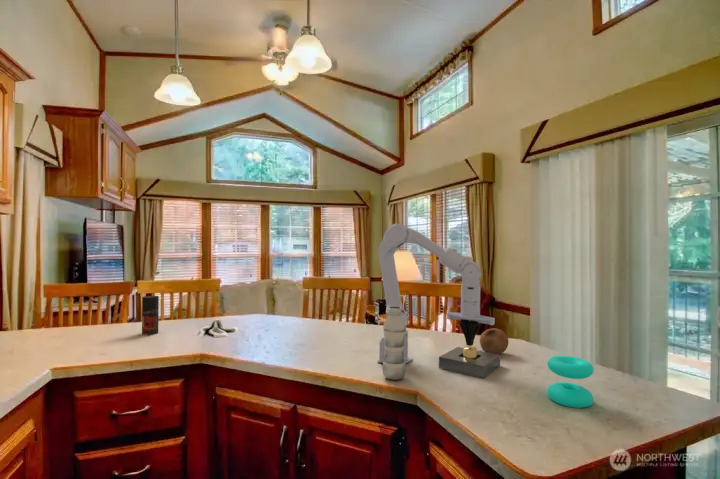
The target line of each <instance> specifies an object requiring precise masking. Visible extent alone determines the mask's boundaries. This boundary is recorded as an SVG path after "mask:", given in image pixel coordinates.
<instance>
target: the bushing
mask: <svg viewBox="0 0 720 479" xmlns="http://www.w3.org/2000/svg"><path fill="white" fill-rule="evenodd" d="M462 348H463V357H464V358H469V359H474V360H476V359H477V351H478V349H477V347H476V346H473V345H472V346H468V345H465V346H463V347H462Z"/></svg>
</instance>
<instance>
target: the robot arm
mask: <svg viewBox="0 0 720 479" xmlns="http://www.w3.org/2000/svg"><path fill="white" fill-rule="evenodd" d="M404 244H416V245H418V246H420V247H422V248H423V249H424V250H426V251H428V252H429V253H431V254H433V255H435V256H436V257H437V258H438V260H439V263H440V264H441V265H443V266H444V267H445V268H448V269H449V270H450V271H452V272H453V273H455V274H460V275H461V286H460V312H456V311H455V312H453V311H452V312H451V311H449V312H446V315H447V316H446V319H448V320H456V321H460V322H459V326H460V328H461V331H462V334H463V336H464V338H465V344H466V345H465V346H472V347H473V346H474V341H475V338H476V335H477V332H478V330H479V329H480V327H481V325H482V324H484V325H490V326H494V325H495V322H496V320H495V317H491V316H485V315H482V314H481V285H480V284H481V280H480V278H481V276H482V271H481V268H480V266H479V265H478V264H477V263H476V262H475V261H472V260H471V258H470V257H469V256H468V257H465V256H464V255H463V254H461V253H460V252H458V249H456V248H455V247H453V248H452V247H445V248H443V247H442V246H440V244H437V243H436V242H435V241H433V240H431V238H429V237H428V236H425V235H424V234H422V233H421V232H420V231H417V230H415V229H414V228H410V227H408V226H406V225H404V224H401V223H393V224H391V226H389V227H388V228H387V230H385V232H384V233H383V238H382V240H381V243H380V245H379V247H378V249H377V253H378V260H379V266H380V267H379V268H380V274H381V279H382V284H383V290H384V296H385V304H386V307H385V315H386V316H385V317H386V318H385V320H386V319H387V318H388V316H389V314H388V307H393V306H394V307H401V312H402V314H401V317H402V319H403V320H404V322H405V324H406V327H407V325H408V324H409V317H408V315H407V312H405V309H404V305H403V303H402V302H403V301H402V298H401V291H400V287H399V280H398V273H397V267H396V260H395V256H394V255H395V254H396V252H398V249H400V247H401V246H403V245H404ZM408 348H409V331H408V330H407V329H406V333H405V340H404V362H405V364H407V363H410V362H411V361H413V360H414V358H412V357H410V356H409V349H408ZM384 354H385V338H384V336H383V337H382V338H381V339H380V341H379V359H378V360H376V361H377V363H380V364H383V361H384ZM408 356H409V357H408Z"/></svg>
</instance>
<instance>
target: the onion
mask: <svg viewBox="0 0 720 479" xmlns="http://www.w3.org/2000/svg"><path fill="white" fill-rule="evenodd" d="M479 345H480V347H481V349H482V352H488V353H493V354H498V355H501V354H502V353H504V352H505V351H506V350H507V349H508V346H509V338H508V335H507V334H506V332H505V331H503V330H502V329H500V328H497V327H496V328H494V327H493V328H488V329H486V330H484V331H483V332H482V333H481V335H480V337H479Z"/></svg>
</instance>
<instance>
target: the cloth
mask: <svg viewBox="0 0 720 479" xmlns="http://www.w3.org/2000/svg"><path fill="white" fill-rule="evenodd" d="M238 332H239V328H238V327H237V326H234V327H224V325H223V323H222V321H221V319H219V318H215V319H214V320H213V321H212V322H211V323H210V324H209V325H207V326H203V327H201V328H200V329H199V330H198V331H196V332H195V333H194V335H197V336H196V338H203V337H204V336H205V335H213V338H225V337H229V335H228V333H235V334H236V333H238Z"/></svg>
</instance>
